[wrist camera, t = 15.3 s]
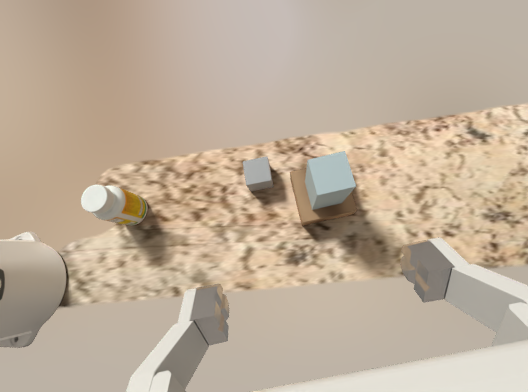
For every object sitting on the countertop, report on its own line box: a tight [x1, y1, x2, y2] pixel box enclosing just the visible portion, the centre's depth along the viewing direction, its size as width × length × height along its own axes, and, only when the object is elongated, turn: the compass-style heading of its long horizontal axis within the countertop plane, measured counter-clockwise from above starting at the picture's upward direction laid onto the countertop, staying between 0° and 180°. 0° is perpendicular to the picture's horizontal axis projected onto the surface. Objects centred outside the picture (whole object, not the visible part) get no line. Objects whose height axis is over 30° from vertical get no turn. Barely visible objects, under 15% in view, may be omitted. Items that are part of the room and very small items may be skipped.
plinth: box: [290, 168, 357, 226], centre depth 40 cm, size 8×8×4 cm
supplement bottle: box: [81, 185, 148, 225], centre depth 41 cm, size 5×5×10 cm
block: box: [243, 157, 274, 191], centre depth 42 cm, size 4×4×4 cm
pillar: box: [305, 151, 356, 210], centre depth 34 cm, size 4×4×9 cm
